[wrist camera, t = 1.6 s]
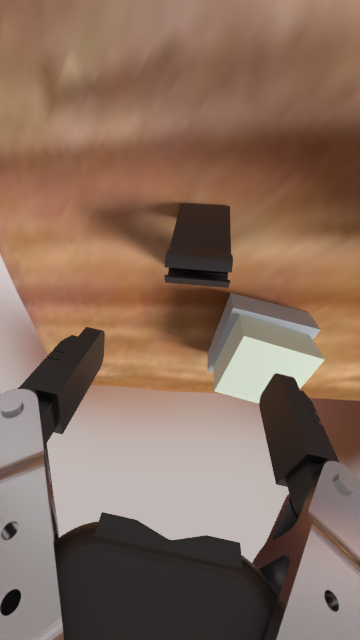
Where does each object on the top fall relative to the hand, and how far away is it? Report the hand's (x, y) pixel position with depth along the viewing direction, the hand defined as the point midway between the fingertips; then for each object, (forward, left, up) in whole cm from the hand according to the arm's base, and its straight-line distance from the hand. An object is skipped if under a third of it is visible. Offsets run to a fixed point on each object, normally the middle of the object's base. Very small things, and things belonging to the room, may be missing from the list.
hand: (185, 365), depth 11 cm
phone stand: (0, 0, -24) cm, 24 cm away
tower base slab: (-12, +12, -24) cm, 29 cm away
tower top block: (-12, +12, -19) cm, 25 cm away
